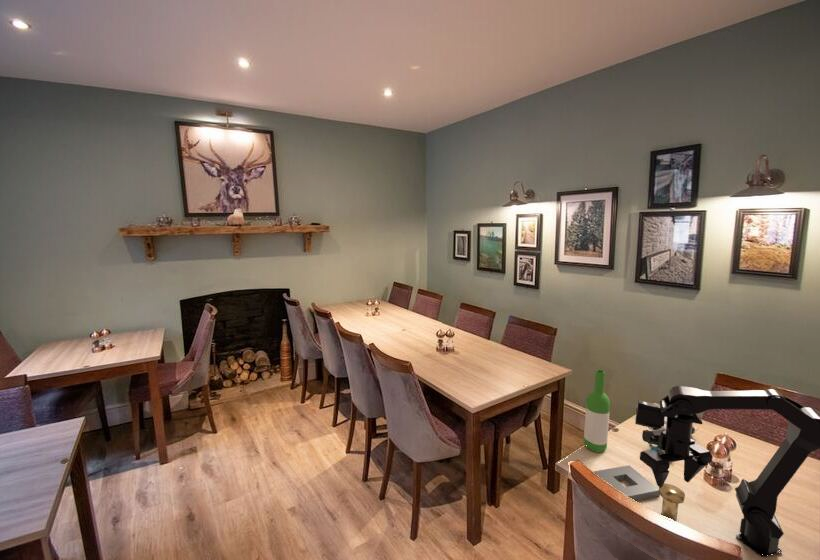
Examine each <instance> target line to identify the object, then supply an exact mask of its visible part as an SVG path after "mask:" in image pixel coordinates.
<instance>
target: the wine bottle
mask: <svg viewBox="0 0 820 560" xmlns="http://www.w3.org/2000/svg"><path fill="white" fill-rule="evenodd" d="M605 376H606V372H605V371H604V370H602V369H597V370H595V376H594V377H595V379H594V390H592V391H591V392H589V393H588V395H587V397H586V404H585V405H586V406H585V416H584V432H583V444H584V446H585V448H587V449H588V450H590V451H592V452H595V453H603V452H605V451H607V450H606V449H607V447H608V436H609V424H610V423H609V422H610V410H611V401H610V399H609V396H608V395H607V394H606V393H605V392H604V390H605V378H606V377H605ZM586 445H587V446H586Z"/></svg>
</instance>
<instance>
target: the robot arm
mask: <svg viewBox="0 0 820 560" xmlns="http://www.w3.org/2000/svg"><path fill="white" fill-rule="evenodd" d="M713 410H736V411H737V410H739V411H740V410H744V411H746V410H749V411H751V410H752V411H754V410H755V411H757V410H758V411H759V410H760V411H763V410H765V411H774V412H775V413H777V414H778V415H780V416H781V417H783V418H784V419H785V420H787V421H788V424H787V430H786V437H785V439H784V440H783V441H782V443H781V444H780V446H779V447H778V448H777V450H776V452H775V453H774V454H773V456H772V457H770V460H769V461H768V462H767V464H766V465H765V466H764V468H763V469H762V470H761V472H760V473H759V475H758V477H757V478H756V479H754V480H751V481H748V480H746V479H745V478H743V479H741V481H740V483H739V485H738V486H737V487H735V488H734V491H735V492H736V493H735V497H736V500H737V503H738V505H739V508H740V511H741V513H742V515H743V518H740V519H741V520H740V527H739V533H738V534H736V536H735V537H736V538H737V539H738V540H739V541H740V542H742V543H744V545H746V546H747V547H748V548H750V549H751V550H753V551H754V552H755V553H756V552H757V553H756V554H758V555H759V554H760V555H761V556H760V555H759V556H760V557H762V556H767V555H771V554H775V555H777V554H776V553H779V552H783V550H782V549H781V548H780V547H779V541H780V539H781V538H782V537H783V535H784V534H785V533H784V531H783V529H782V527H781V525H780V523H779V521H778V519H777V517H776V514H775V513H776V510H777V506H778V505H777V503H778V497H779V496H780V494H781V492H783V490H784V488H785V487H787V485H788V483H789V482H790V481H791V479H792V478H793V477H794V475H795V474H796V473H797V472H798V470H799V469H800V467H802V466H803V464H804V462H805V461H806V459H807V458H808V457H809V456H810V455H811V453H813V452H816V451H819V450H820V410H817V409H815V408H812V407H808V406H807V407H806V406H804V405H802V404H800V403H799V402H797V401H795V400H793V399H792V398H789V397H788V396H785V395H783V394H782V393H781V392H779V391H778V390H775V389H772V388H771V389H769V388H768V389H764V390H761V389H759V390H757V389H756V390H755V389H752V390H704V389H700V388H696V387H691V386H684V385H683V386H682V385H675V386H672V387H671V388H670V389H669V391H668V393H667V395H666V396H665V397H663V398H662V399H660V400H659V402H658V404H657V403H651V402H646V401H643V400H637V404H636V407H635V417H634V418H635V421H634V422H635V425H638V426H643V427H647V428H648V427H650V428H655V429H661V427H664V419H665V417H667V423H666V431H660V430H653V431H652V430H650V429H645V430H642V433H641V438H642V440H643V442H645V443H647V444H648V445H650V444H652V445H655V446H657V445H658V448H659V449H658V450H660V451H663V453H662V454H660V453H659V452H658V451H655V450H652V449H647V450H643V451H640V453H639V460H640V461H641V462H642V463H644V464H645V465H646V466H648V467H649V468H650V469H651V471H652V474H653V476H654V480H655V483H656V485H657V486H658V488H659V487H660V488H661V487H662V486H663V484H664V483H665V482H666V480H667V479H668V477H669V473H670V470H669V469H670V465H671V463H674V462H679V461H680V462H681V461H683V462H684V463H683V480H684V481H685V482H686V483H690V482H691V481H692V479H693V478H695V476H696V475H698V473H700V471H702V470H703V469H704V468H705V467H707V466H708V465H709V464H712V463H713V455H712V453H711V451H710V450H708V449H706V448H704V447H703V446H701V445H700V444H698V443H696V441H695V440H694V439H693V438H692V435H693V434H692V426H694V425H693V424H697V425H703V420H702V417H701V416H700V415H699V414H702V413H705V412H707V411H713ZM779 550H780V551H779ZM762 554H763V555H762ZM779 554H780V553H779ZM771 556H772V555H771ZM767 557H768V556H767Z"/></svg>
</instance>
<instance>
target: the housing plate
mask: <svg viewBox="0 0 820 560" xmlns="http://www.w3.org/2000/svg"><path fill="white" fill-rule="evenodd" d="M593 472H594V473H595V474H596V475H598V476H599V477H600V478H602V479H603V480H605V481H606V482H608V483H609V484H611V485H612V486H613V487H614V488H616V489H617V490H619V491H621V492H622V493H624V494H625V495H627V496H628V497H630V498H632V499H634V500H636V501H635V502H637V501H641V500H645V499H651V498H655V497H661V495H660V494H659V487H657V486H656V485H654V484H653V483H652V482H650V480H649V479H647V478H646V477H645V476H643V475H642V474H641V473H639V471H637V470H636V469H635V468H633V467H632V466H631V465H630V464H629V465H623V466H617V467H616V466H615V467H611V468H605V469H600V470H595V471H594V470H593V471H592V473H593ZM620 481H627V482H628V483H629V484H630V485H628V486H624V485H623V484H622V483H621V482H620Z"/></svg>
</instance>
